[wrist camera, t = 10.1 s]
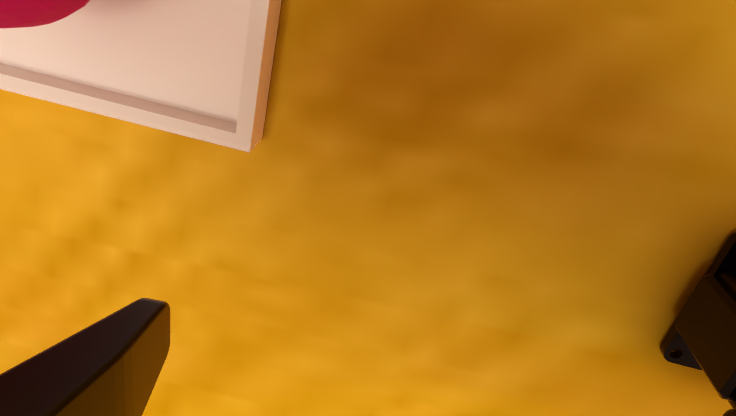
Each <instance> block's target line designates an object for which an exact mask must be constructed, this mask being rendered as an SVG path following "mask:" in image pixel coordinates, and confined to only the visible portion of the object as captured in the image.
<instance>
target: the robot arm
mask: <svg viewBox="0 0 736 416" xmlns="http://www.w3.org/2000/svg"><path fill="white" fill-rule="evenodd" d="M169 346H170V307H169V304H168V303H166V302H164V301H159V300H154V299H149V298H141V299H139V300H137V301H135V302H133V303H131V304H129V305H127V306H125V307H124V308H122V309H120V310H118V311H116V312H114V313H113V314H111V315H109V316H107V317H105V318H103V319H101V320H100V321H98V322H96V323H94V324H92V325H90V326H89V327H87V328H85V329H83V330H81V331H79V332H77V333H76V334H74V335H72V336H70V337H68V338H66V339H65V340H63V341H61V342H59V343H57V344H55V345H54V346H52V347H50V348H48V349H46V350H44V351H42V352H41V353H39V354H37V355H35V356H33V357H31V358H30V359H28V360H26V361H24V362H22V363H20V364H18V365H17V366H15V367H13V368H11V369H9V370H7V371H6V372H4V373H2V374H0V416H142V414H143V412H144V409H145V407H146V405H147V402H148V400H149V397H150V395H151V393H152V390H153V388H154V386H155V383H156V381H157V378H158V376H159V374H160V371H161V369H162V367H163V364H164V362H165V360H166V357H167V354H168V351H169ZM675 349H678V350H677V351H674V352H671V351H672V350H675ZM660 350H661V353H662V354H663V356H664V358H665V359H666V360H667V361H669V362H672V363H676V364H680V365H683V366H687V367H691V368H695V369H699V370H703V371H704V373H705V374H706V376H707V377H708V379H709V380H710V382H711V383H712V385H713V387H714V388H715V390H716V391H717V393H718V394H719V396H720V397H721V398H722V399H726V400H728V402H729V403H730V405H731V406H732V408H733V409H730V410H728V411H726V412H725V413H724V414H723V416H736V233H734V234H733V235H731V236H730V237H729V239H728V240H727V242H726V243H725V245H724V246H723V248H722V249H721V251H720V253H719V254H718V256H717V257H716V259H715V261H714V262H713V264H712V265H711V267H710V268H709V270H708V272H707V273H706V275H705V276H704V277H703V278H702V279H701V281H700V282H699V284H698V286H697V287H696V289H695V290H694V292H693V294H692V295H691V297H690V298H689V300H688V301H687V303H686V305H685V306H684V308H683V309H682V311H681V313H680V314H679V316H678V317H677V319H676V320H675V322H674V325H673V327H672V329H671V330H670V332H669V333H668V335H667V336H666V338H665V340H664V341H663V343H662V344H661V347H660Z"/></svg>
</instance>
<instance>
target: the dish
mask: <svg viewBox="0 0 736 416" xmlns="http://www.w3.org/2000/svg"><path fill="white" fill-rule="evenodd" d="M281 1H282V0H90V1H89V2H88V3H87V4H86V5H85V6H84V7H82V8H81V9H79V10H77V11H76V12H74V13H72V14H71V15H69V16H67V17H65V18H63V19H61V20H58V21H56V22H53V23H51V24H46V25H41V26H35V27H22V28H0V89H3V90H6V91H10V92H14V93H18V94H22V95H26V96H30V97H34V98H38V99H42V100H46V101H50V102H53V103H57V104H61V105H65V106H69V107H73V108H77V109H81V110H85V111H89V112H93V113H97V114H101V115H104V116H108V117H112V118H116V119H120V120H124V121H128V122H132V123H136V124H140V125H144V126H148V127H151V128H155V129H159V130H163V131H167V132H171V133H175V134H179V135H183V136H187V137H191V138H195V139H199V140H202V141H206V142H210V143H214V144H218V145H222V146H226V147H230V148H234V149H238V150H242V151H246V152H249V153H250V152H251V150H252V149H253V148H254V147H255V146H256V145H257V144H258V143H259V142H260V141H261V140H262V137H263V129H264V122H265V115H266V108H267V101H268V94H269V86H270V79H271V72H272V65H273V58H274V51H275V44H276V36H277V29H278V22H279V15H280V8H281Z"/></svg>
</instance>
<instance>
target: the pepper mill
mask: <svg viewBox="0 0 736 416" xmlns="http://www.w3.org/2000/svg"><path fill="white" fill-rule="evenodd" d="M89 1H90V0H0V28H22V27H35V26H41V25H46V24H51V23H53V22H56V21H58V20H61V19H63V18H65V17H67V16H69V15H71V14H72V13H74V12H76V11H77V10H79V9H81V8H82V7H84V6H85V5H86V4H87V3H88V2H89Z"/></svg>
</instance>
